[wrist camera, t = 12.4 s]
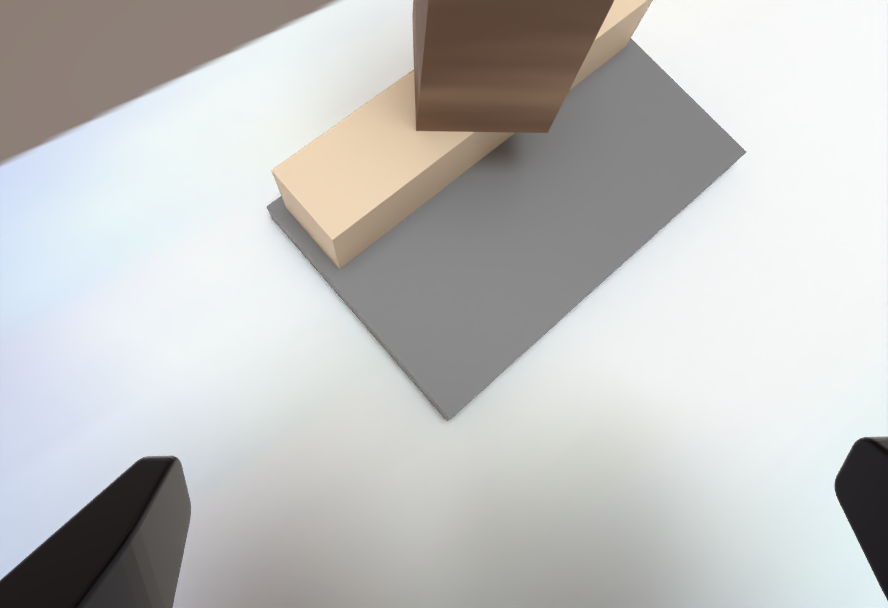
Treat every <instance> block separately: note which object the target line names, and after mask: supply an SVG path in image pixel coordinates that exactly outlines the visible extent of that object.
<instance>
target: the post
mask: <svg viewBox="0 0 888 608" xmlns="http://www.w3.org/2000/svg"><path fill="white" fill-rule="evenodd" d="M613 2H614V0H414V1H413V47H414V80H415V113H416V131H447V132H514V133H548V132H549V130H550V128H551V126H552V124H553V122H554V120H555V118H556V116H557V114H558V112H559V110H560V108H561V106H562V104H563V102H564V100H565V98H566V96H567V94H568V92H569V90H570V88H571V86H572V84H573V82H574V80H575V78H576V76H577V74H578V72H579V70H580V68H581V66H582V64H583V62H584V60H585V58H586V56H587V54H588V52H589V50H590V48H591V46H592V44H593V42H594V40H595V38H596V36H597V34H598V32H599V30H600V28H601V26H602V24H603V22H604V20H605V18H606V16H607V14H608V12H609V10H610V8H611V6H612V4H613Z"/></svg>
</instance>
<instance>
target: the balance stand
mask: <svg viewBox="0 0 888 608" xmlns="http://www.w3.org/2000/svg"><path fill="white" fill-rule="evenodd" d="M651 2H652V0H614V2H613V4H612V6H611V8H610V10H609V12H608V14H607V16H606V18H605V20H604V22H603V24H602V26H601V28H600V30H599V32H598V34H597V36H596V38H595V40H594V42H593V44H592V46H591V48H590V50H589V52H588V54H587V56H586V58H585V60H584V62H583V64H582V66H581V68H580V70H579V72H578V74H577V76H576V78H575V80H574V82H573V84H572V86H571V88H570V90H569V92H568V94H567V96H566V98H565V100H564V102H563V104H562V106H561V108H560V110H559V112H558V114H557V116H556V118H555V120H554V122H553V124H552V126H551V128H550V130H549V132H548V133H514V132H447V131H416V113H415V80H414V70H413V71H411V72H410V73H408V74H407V75H406V76H404V77H403V78H401V79H400V80H399V81H397V82H396V83H394V84H393V85H391V86H390V87H389V88H387V89H386V90H384V91H383V92H382V93H380V94H379V95H377V96H376V97H374V98H373V99H372V100H370V101H369V102H367V103H366V104H365V105H363V106H362V107H360V108H359V109H357V110H356V111H355V112H353V113H352V114H350V115H349V116H348V117H346V118H345V119H343V120H342V121H341V122H339V123H338V124H336V125H335V126H333V127H332V128H331V129H329V130H328V131H326V132H325V133H324V134H322V135H321V136H319V137H318V138H316V139H315V140H314V141H312V142H311V143H309V144H308V145H307V146H305V147H304V148H302V149H301V150H299V151H298V152H297V153H295V154H294V155H292V156H291V157H290V158H288V159H287V160H285V161H284V162H282V163H281V164H280V165H278V166H277V167H275V168H274V169H273V170H271V171H272V173H273V176H274V178H275V181H276V183H277V186H278V188H279V191H280V193H281V197H279V198H278V199H276V200H275V201H274V202H272V203H271V204H270V205H268V206H267V209H268V211H269V213H270V215H271V217H272V218H273V219H274V221H275V222H276V223H277V224H278V225H279V226H280V228H281V229H282V230H283V231H284V232H285V233H286V235H287V236H288V237H289V238H290V239H291V240H292V242H293V243H294V244H295V245H296V246H297V247H298V248H299V250H300V251H301V252H302V253H303V254H304V255H305V257H306V258H307V259H308V260H309V261H310V262H311V264H312V265H313V266H314V267H315V268H316V269H317V270H318V272H319V273H320V274H321V275H322V276H323V277H324V279H325V280H326V281H327V282H328V283H329V284H330V286H331V287H332V288H333V289H334V290H335V291H336V292H337V294H338V295H339V296H340V297H341V298H342V299H343V301H344V302H345V303H346V304H347V305H348V306H349V308H350V309H351V310H352V311H353V312H354V313H355V314H356V316H357V317H358V318H359V319H360V320H361V321H362V323H363V324H364V325H365V326H366V327H367V328H368V330H369V331H370V332H371V333H372V334H373V335H374V337H375V338H376V339H377V340H378V341H379V342H380V343H381V345H382V346H383V347H384V348H385V349H386V350H387V352H388V353H389V354H390V355H391V356H392V357H393V359H394V360H395V361H396V362H397V363H398V364H399V365H400V367H401V368H402V369H403V370H404V371H405V372H406V374H407V375H408V376H409V377H410V378H411V379H412V381H413V382H414V383H415V384H416V385H417V386H418V387H419V389H420V390H421V391H422V392H423V393H424V394H425V396H426V397H427V398H428V399H429V400H430V401H431V403H432V404H433V405H434V406H435V407H436V408H437V410H438V411H439V412H440V413H441V414H442V415H443V416H444V418H445V419H446V420H447V421H448V420H449V419H451V418H452V417H453V416H454V415H455V414H456V413H457V412H458V411H460V410H461V409H462V408H463V407H464V406H465V405H466V404H467V403H468V402H470V401H471V400H472V399H473V398H474V397H475V396H476V395H477V394H478V393H480V392H481V391H482V390H483V389H484V388H485V387H486V386H487V385H488V384H490V383H491V382H492V381H493V380H494V379H495V378H496V377H497V376H498V375H500V374H501V373H502V372H503V371H504V370H505V369H506V368H507V367H508V366H510V365H511V364H512V363H513V362H514V361H515V360H516V359H517V358H518V357H520V356H521V355H522V354H523V353H524V352H525V351H526V350H527V349H528V348H530V347H531V346H532V345H533V344H534V343H535V342H536V341H537V340H538V339H540V338H541V337H542V336H543V335H544V334H545V333H546V332H547V331H548V330H550V329H551V328H552V327H553V326H554V325H555V324H556V323H557V322H558V321H560V320H561V319H562V318H563V317H564V316H565V315H566V314H567V313H568V312H570V311H571V310H572V309H573V308H574V307H575V306H576V305H577V304H578V303H580V302H581V301H582V300H583V299H584V298H585V297H586V296H587V295H588V294H590V293H591V292H592V291H593V290H594V289H595V288H596V287H597V286H598V285H600V284H601V283H602V282H603V281H604V280H605V279H606V278H607V277H608V276H609V275H611V274H612V273H613V272H614V271H615V270H616V269H617V268H618V267H619V266H621V265H622V264H623V263H624V262H625V261H626V260H627V259H628V258H629V257H631V256H632V255H633V254H634V253H635V252H636V251H637V250H638V249H639V248H641V247H642V246H643V245H644V244H645V243H646V242H647V241H648V240H649V239H651V238H652V237H653V236H654V235H655V234H656V233H657V232H658V231H659V230H661V229H662V228H663V227H664V226H665V225H666V224H667V223H668V222H669V221H671V220H672V219H673V218H674V217H675V216H676V215H677V214H678V213H679V212H681V211H682V210H683V209H684V208H685V207H686V206H687V205H688V204H689V203H691V202H692V201H693V200H694V199H695V198H696V197H697V196H698V195H699V194H701V193H702V192H703V191H704V190H705V189H706V188H707V187H708V186H709V185H711V184H712V183H713V182H714V181H715V180H716V179H717V178H718V177H719V176H721V175H722V174H723V173H724V172H725V171H726V170H727V169H728V168H729V167H731V166H732V165H733V164H734V163H735V162H736V161H737V160H738V159H739V158H741V157H742V156H743V155H744V154H745V153H746V151H745V150H744V149H743V148H742V147H741V146H740V145H739V144H738V143H737V142H736V141H735V140H734V139H733V138H732V137H731V136H730V135H729V134H728V133H727V132H726V131H724V130H723V129H722V128H721V127H720V126H719V125H718V124H717V123H716V122H715V121H714V120H713V119H712V118H711V117H710V116H709V115H708V114H707V113H706V112H705V111H704V110H703V109H702V108H701V107H700V106H699V105H698V104H697V103H696V102H695V101H694V100H693V99H692V98H691V97H690V96H689V95H688V94H687V93H686V92H685V91H684V90H683V89H682V88H681V87H680V86H679V85H678V84H677V83H676V82H675V81H674V80H673V79H672V78H671V77H670V76H669V75H668V74H667V73H666V72H665V71H664V70H662V69H661V68H660V67H659V66H658V65H657V64H656V63H655V62H654V61H653V60H652V59H651V58H650V57H649V56H648V55H647V54H646V53H645V52H644V51H643V50H642V49H641V48H640V47H639V46H638V45H637V44H636V43H635V42H634V41H633V40H632V39H631V36H632V35H633V33H634V31H635V29H636V28H637V26H638V24H639V23H640V21H641V19H642V18H643V16H644V14H645V12H646V11H647V9H648V7H649V6H650V4H651Z"/></svg>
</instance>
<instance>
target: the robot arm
mask: <svg viewBox="0 0 888 608" xmlns="http://www.w3.org/2000/svg"><path fill="white" fill-rule="evenodd" d="M835 492H836V496H837V498H838V501H839V503H840V505H841V507H842V509H843V511H844V513H845V515H846V517H847V519H848V521H849V523H850V525H851V527H852V529H853V531H854V533H855V535H856V538H857V540H858V542H859V544H860V546H861V548H862V550H863V552H864V554H865V556H866V558H867V560H868V562H869V564H870V566H871V568H872V570H873V572H874V574H875V577H876V579H877V581H878V583H879V585H880V587H881V589H882V591H883V593H884V594H885V596H886V598H887V600H888V437H864V438H860V439H859V440H857V441H856V442H855V443H854V445H853V446H852V448H851V450H850V452H849V454H848V456H847V458H846V459H845V461H844V463H843V465H842V467H841V469H840V471H839V473H838V474H837V476H836V479H835ZM190 516H191V503H190V498H189V494H188V489H187V485H186V481H185V477H184V473H183V469H182V465H181V462H180V460H179V459H178V458H177V457H175V456H148V457H143V458H141V459H140V460H138V461H137V462H135V463H134V464H133V465H132V466H131V467H130V468H129V469H127V470H126V471H125V472H124V473H123V474H122V475H120V476H119V477H118V478H117V479H116V480H115V481H114V482H112V483H111V484H110V485H109V486H108V487H107V488H106V489H104V490H103V491H102V492H101V493H100V494H99V495H98V496H96V497H95V498H94V499H93V500H92V501H91V502H90V503H88V504H87V505H86V506H85V507H84V508H83V509H82V510H80V511H79V512H78V513H77V514H76V515H75V516H73V517H72V518H71V519H70V520H69V521H68V522H67V523H65V524H64V525H63V526H62V527H61V528H60V529H59V530H57V531H56V532H55V533H54V534H53V535H52V536H51V537H49V538H48V539H47V540H46V541H45V542H44V543H43V544H41V545H40V546H39V547H38V548H37V549H36V550H35V551H33V552H32V553H31V554H30V555H29V556H28V557H26V558H25V559H24V560H23V561H22V562H21V563H20V564H18V565H17V566H16V567H15V568H14V569H13V570H12V571H10V572H9V573H8V574H7V575H6V576H5V577H4V578H2V579H1V580H0V608H172V607H173V602H174V597H175V592H176V587H177V582H178V577H179V572H180V567H181V562H182V557H183V553H184V548H185V543H186V538H187V533H188V528H189V523H190Z"/></svg>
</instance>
